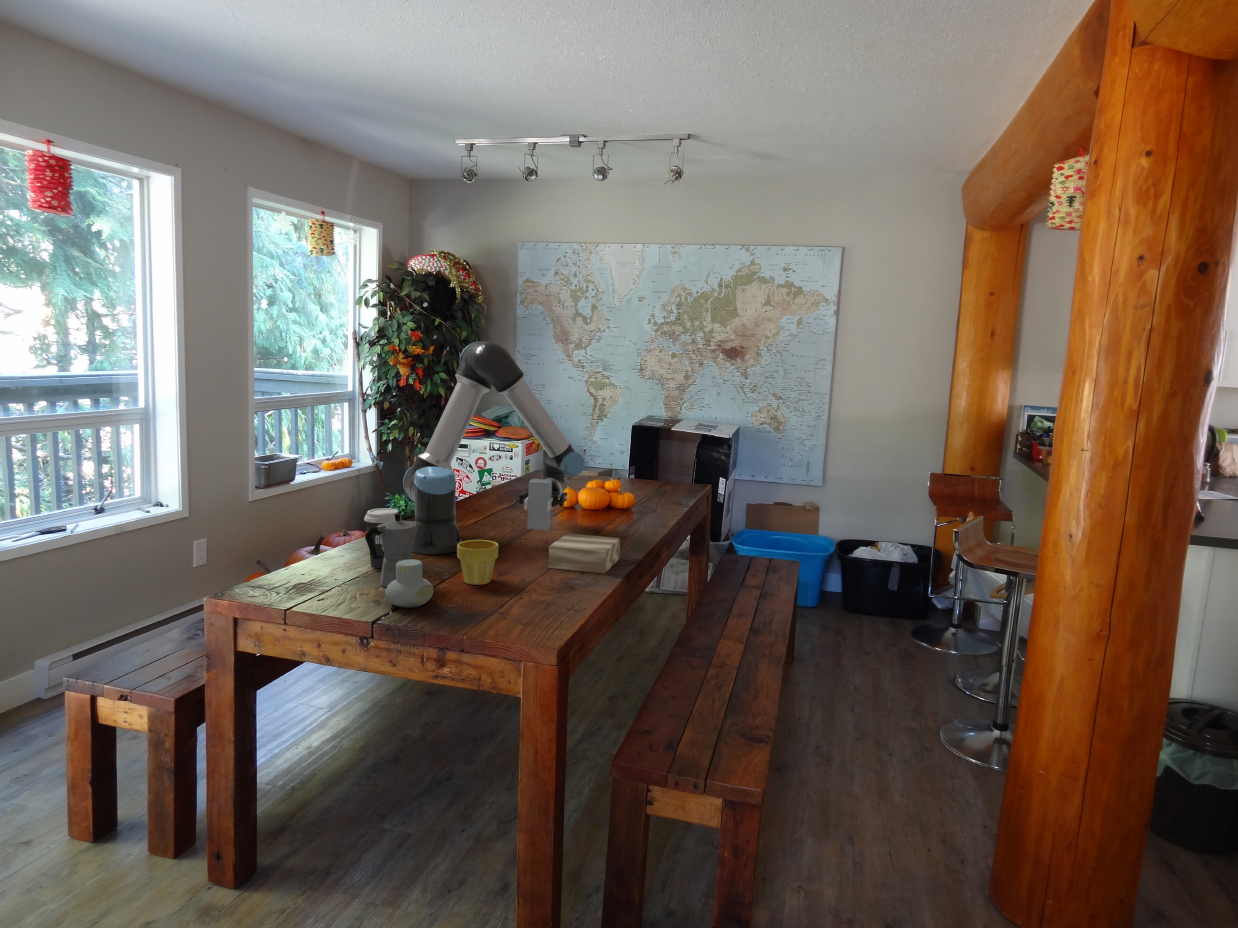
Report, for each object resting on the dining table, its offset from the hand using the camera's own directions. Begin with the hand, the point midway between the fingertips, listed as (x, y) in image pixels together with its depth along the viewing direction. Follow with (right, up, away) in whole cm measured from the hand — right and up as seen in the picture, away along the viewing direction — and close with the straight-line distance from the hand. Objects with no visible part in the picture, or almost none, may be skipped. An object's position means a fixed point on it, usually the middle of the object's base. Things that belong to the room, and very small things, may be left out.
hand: (537, 505), depth 228 cm
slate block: (0, -7, +6) cm, 9 cm away
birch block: (+14, -16, -6) cm, 22 cm away
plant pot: (-12, -18, -26) cm, 34 cm away
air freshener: (-25, -21, -45) cm, 55 cm away
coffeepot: (-33, -18, -30) cm, 48 cm away
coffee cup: (-40, -16, -15) cm, 45 cm away
